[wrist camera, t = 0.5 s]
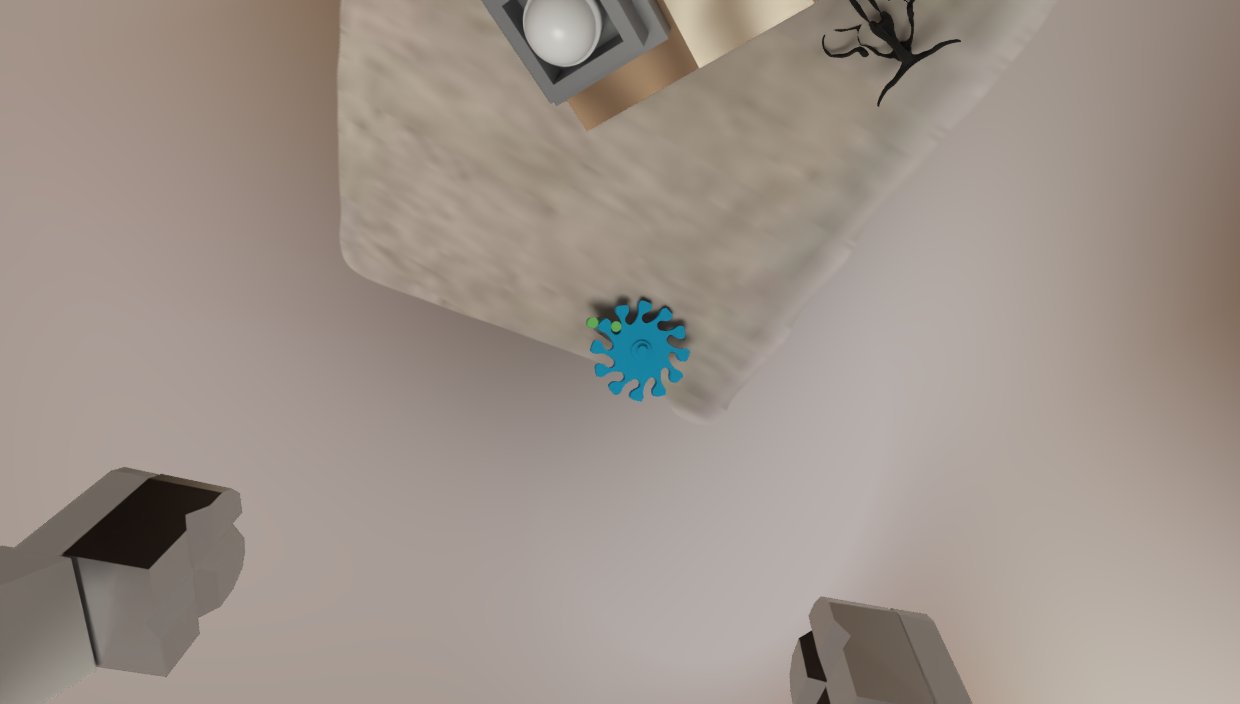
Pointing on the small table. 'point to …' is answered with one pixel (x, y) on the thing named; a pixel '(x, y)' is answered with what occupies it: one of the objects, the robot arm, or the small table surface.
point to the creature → (890, 42)
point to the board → (681, 50)
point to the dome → (563, 29)
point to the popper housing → (624, 38)
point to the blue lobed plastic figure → (638, 349)
